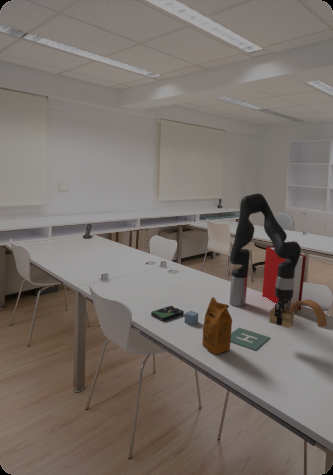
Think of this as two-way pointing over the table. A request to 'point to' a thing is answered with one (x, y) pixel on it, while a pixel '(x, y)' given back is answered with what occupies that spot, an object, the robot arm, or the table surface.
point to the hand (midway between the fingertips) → (281, 322)
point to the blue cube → (191, 317)
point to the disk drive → (167, 313)
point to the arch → (316, 309)
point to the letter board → (248, 338)
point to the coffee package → (217, 327)
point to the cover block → (286, 319)
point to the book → (271, 276)
